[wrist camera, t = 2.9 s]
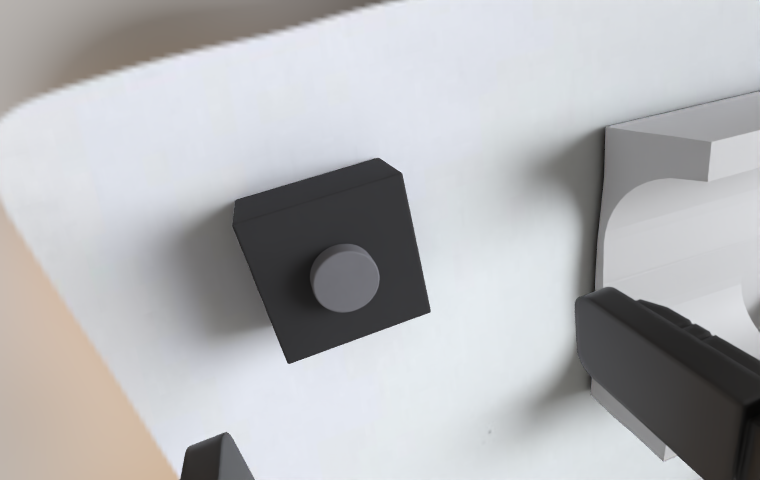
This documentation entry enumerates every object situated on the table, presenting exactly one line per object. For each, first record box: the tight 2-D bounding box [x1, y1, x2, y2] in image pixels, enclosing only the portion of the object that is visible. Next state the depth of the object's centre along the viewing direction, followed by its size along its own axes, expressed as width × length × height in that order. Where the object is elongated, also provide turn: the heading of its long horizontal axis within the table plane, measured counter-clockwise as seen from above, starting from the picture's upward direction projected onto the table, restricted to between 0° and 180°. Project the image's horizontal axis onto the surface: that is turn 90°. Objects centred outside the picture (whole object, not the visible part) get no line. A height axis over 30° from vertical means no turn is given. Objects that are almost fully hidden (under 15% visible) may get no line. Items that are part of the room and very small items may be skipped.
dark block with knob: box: [233, 158, 431, 364], centre depth 17 cm, size 6×6×4 cm
